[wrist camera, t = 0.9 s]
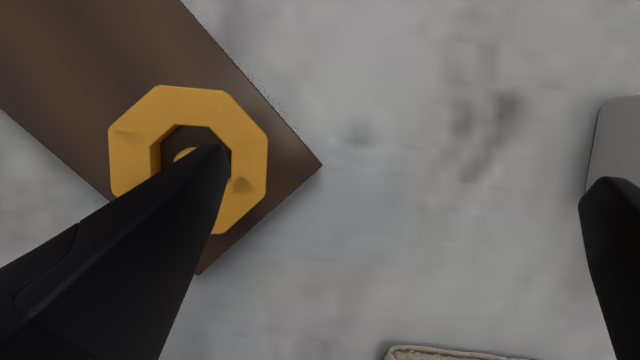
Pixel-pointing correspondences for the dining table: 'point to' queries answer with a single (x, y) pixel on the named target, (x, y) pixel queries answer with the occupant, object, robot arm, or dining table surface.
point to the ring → (190, 110)
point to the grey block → (617, 141)
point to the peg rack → (130, 89)
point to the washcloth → (436, 354)
